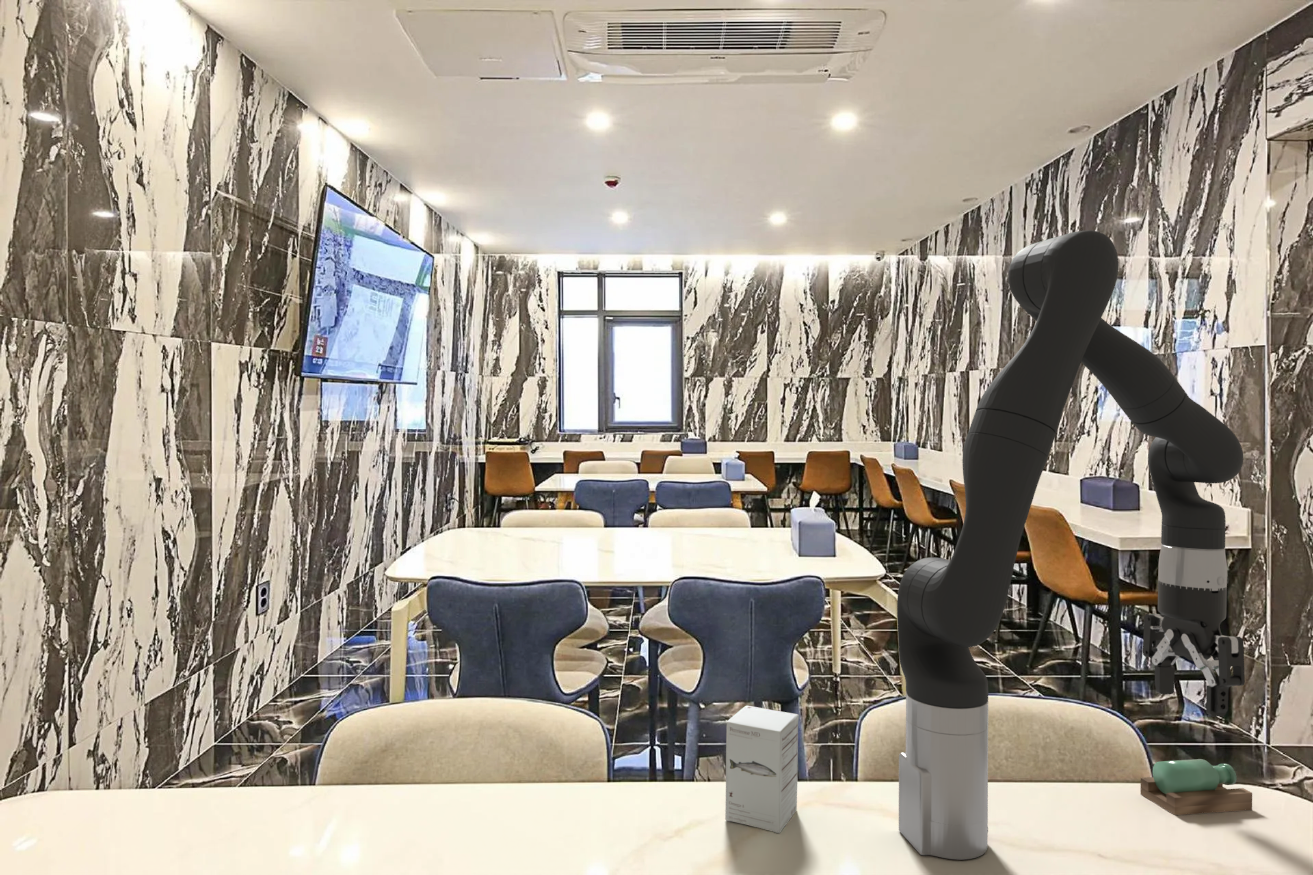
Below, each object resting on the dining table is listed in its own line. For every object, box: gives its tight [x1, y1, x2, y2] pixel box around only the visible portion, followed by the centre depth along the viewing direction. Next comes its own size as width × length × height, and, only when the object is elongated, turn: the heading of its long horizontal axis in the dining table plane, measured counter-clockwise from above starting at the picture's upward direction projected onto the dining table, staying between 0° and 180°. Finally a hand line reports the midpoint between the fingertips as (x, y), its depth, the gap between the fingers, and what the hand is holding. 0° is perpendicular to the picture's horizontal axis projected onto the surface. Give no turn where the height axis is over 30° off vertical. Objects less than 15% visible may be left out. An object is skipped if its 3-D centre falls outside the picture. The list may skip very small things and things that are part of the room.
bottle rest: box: [1140, 776, 1253, 816], centre depth 107 cm, size 11×6×2 cm, turn 98°
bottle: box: [1152, 758, 1238, 794], centre depth 107 cm, size 9×4×4 cm, turn 98°
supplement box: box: [724, 705, 800, 834], centre depth 103 cm, size 7×7×13 cm
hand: (1189, 704), depth 107 cm, fingers open, 8 cm apart
